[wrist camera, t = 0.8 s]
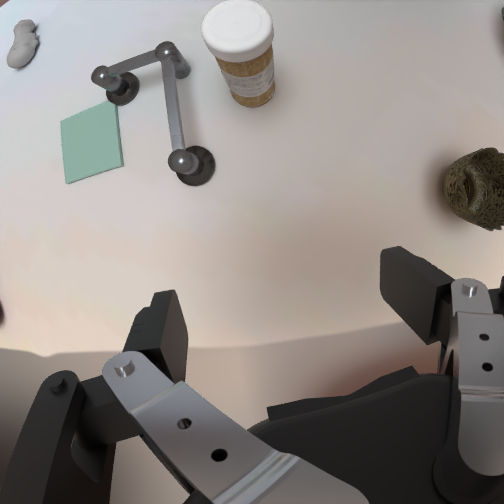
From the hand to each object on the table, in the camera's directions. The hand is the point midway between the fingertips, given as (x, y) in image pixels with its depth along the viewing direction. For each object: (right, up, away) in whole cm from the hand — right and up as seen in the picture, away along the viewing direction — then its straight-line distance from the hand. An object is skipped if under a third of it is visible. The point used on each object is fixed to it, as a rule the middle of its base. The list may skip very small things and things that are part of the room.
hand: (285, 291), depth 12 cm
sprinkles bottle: (-1, +18, +17) cm, 25 cm away
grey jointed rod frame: (-12, +15, +18) cm, 26 cm away
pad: (-20, +14, +19) cm, 31 cm away
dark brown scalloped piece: (+21, +8, +17) cm, 28 cm away
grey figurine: (-34, +32, +17) cm, 50 cm away
